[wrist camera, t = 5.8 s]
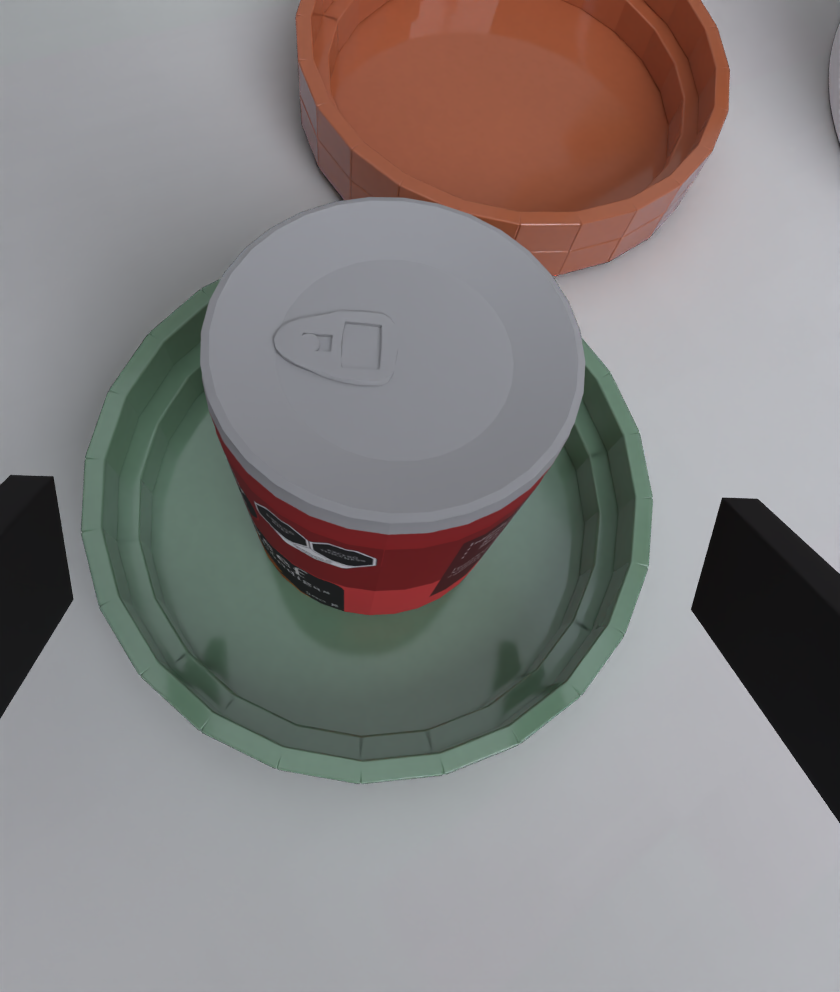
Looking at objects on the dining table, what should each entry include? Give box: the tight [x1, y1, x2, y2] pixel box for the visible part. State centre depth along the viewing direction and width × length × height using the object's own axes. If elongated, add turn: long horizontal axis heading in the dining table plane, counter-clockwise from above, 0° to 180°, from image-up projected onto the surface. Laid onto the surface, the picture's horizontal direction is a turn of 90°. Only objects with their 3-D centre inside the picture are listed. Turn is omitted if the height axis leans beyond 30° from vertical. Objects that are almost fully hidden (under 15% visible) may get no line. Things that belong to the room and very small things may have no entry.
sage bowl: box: [81, 279, 653, 784], centre depth 24 cm, size 17×17×3 cm
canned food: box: [200, 197, 585, 615], centre depth 20 cm, size 8×8×11 cm
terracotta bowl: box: [295, 0, 730, 276], centre depth 30 cm, size 17×17×3 cm
